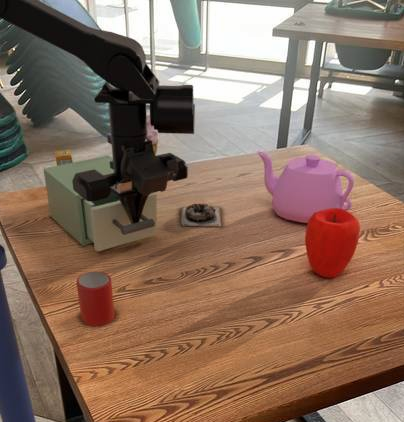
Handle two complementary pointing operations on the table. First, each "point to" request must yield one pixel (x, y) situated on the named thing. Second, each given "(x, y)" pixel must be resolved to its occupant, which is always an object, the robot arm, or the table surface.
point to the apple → (331, 241)
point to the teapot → (306, 187)
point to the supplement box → (63, 157)
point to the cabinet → (71, 194)
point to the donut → (200, 215)
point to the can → (95, 298)
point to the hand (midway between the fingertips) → (134, 224)
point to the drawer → (117, 222)
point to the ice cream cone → (152, 134)
